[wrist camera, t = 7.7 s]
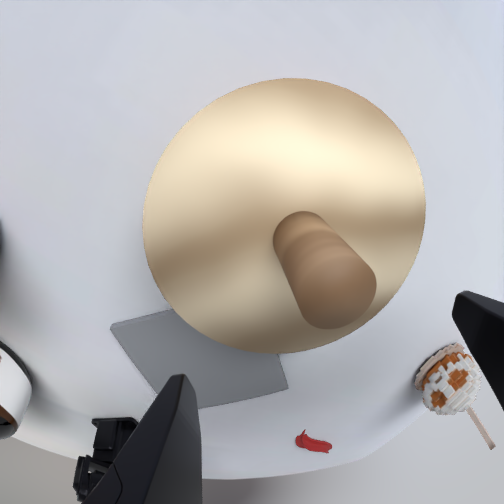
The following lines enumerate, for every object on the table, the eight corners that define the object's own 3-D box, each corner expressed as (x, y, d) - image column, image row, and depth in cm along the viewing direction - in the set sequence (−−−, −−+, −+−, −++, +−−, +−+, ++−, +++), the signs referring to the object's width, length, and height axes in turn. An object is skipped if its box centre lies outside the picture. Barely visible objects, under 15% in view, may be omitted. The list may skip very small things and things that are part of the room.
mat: (287, 384, 26) (288, 388, 25) (173, 407, 26) (173, 412, 25) (255, 286, 20) (256, 290, 20) (111, 324, 21) (109, 328, 20)
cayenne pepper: (288, 430, 31) (291, 442, 29) (324, 419, 30) (328, 430, 29) (304, 458, 36) (307, 467, 34) (332, 449, 36) (335, 458, 34)
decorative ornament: (445, 334, 26) (514, 425, 13) (466, 346, 29) (524, 421, 15) (402, 381, 29) (454, 475, 15) (430, 386, 31) (476, 464, 18)
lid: (414, 299, 18) (462, 353, 12) (207, 365, 18) (207, 442, 12) (394, 67, 11) (476, 55, 6) (105, 137, 11) (34, 152, 6)
